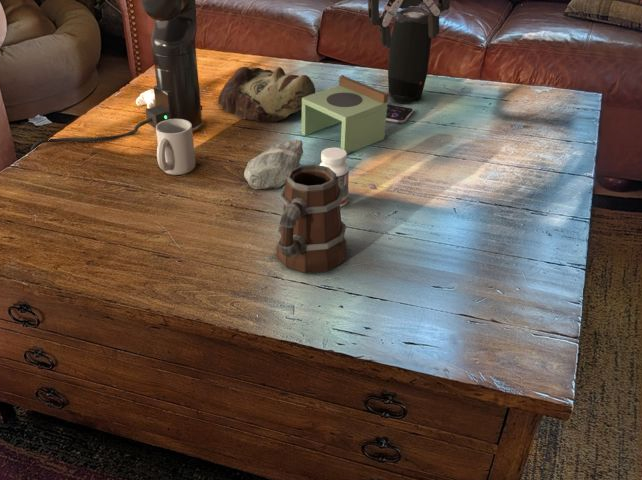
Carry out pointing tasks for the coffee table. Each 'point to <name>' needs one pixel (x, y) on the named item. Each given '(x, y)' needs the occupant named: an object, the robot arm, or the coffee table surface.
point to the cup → (175, 146)
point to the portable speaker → (409, 54)
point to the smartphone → (398, 113)
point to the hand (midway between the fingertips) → (409, 42)
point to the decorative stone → (273, 165)
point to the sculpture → (264, 94)
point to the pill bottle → (337, 168)
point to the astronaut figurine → (147, 99)
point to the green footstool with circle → (347, 113)
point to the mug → (311, 220)
